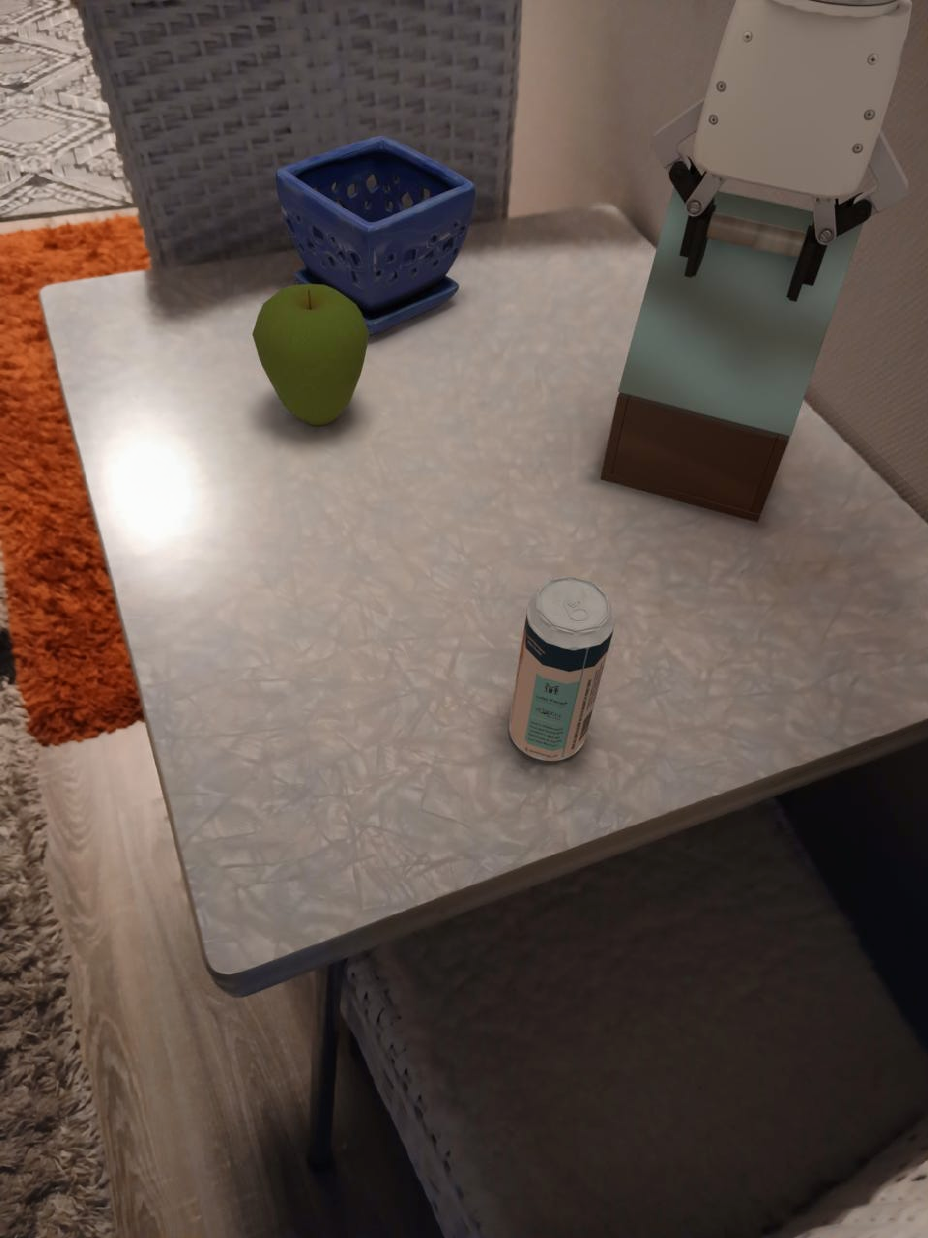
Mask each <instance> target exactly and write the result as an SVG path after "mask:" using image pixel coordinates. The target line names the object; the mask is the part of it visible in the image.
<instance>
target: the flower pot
mask: <svg viewBox="0 0 928 1238" xmlns="http://www.w3.org/2000/svg"><path fill="white" fill-rule="evenodd" d="M372 176H373V177H374V179H375V185H374V186H372V187H371V188H370V189H369V186H368V185H367V181H368V180H369V179H370V177H372ZM334 184H335V186H334V188H333V185H334ZM275 185H276V194H277V198H278V204H279V208H280V211H281V216H282V219H283V221H284V225H285V227H286V230H287V233H288V235H289V238H290V240H291V243H292V245H293V247H294V249H295V250H296V252H297V255H298V256H299V258H300V259H301V261H302V262H303V264H304V265H305V267H303V268H300V269H298V270H296V271H295V272H294V273H293V276H294V277H293V278H294V279H295V281H296V283H297V285H301V284H320V285H326V286H328V287H331V288H333V289H335V290H337V291H339V292H340V293H341V294H343V295H344V296H346V297H347V298H348V299H350V300H351V301H352V302H353V303H355V304H356V305H357V307H358V308H359V310H360V312H361V313H362V316H363V318H364V320H365V323H366V325H367V328H368V330H369V333H370V334H369V335H376V334H379V333H380V332H383V331H385V330H388V329H390V328H392V327H394V326H396V325H399V324H402V323H403V322H406V321H409V320H410V319H412V318H415V317H417V316H419V315H421V314H423V313H425V312H428V311H430V310H432V309H434V308H436V307H440V306H441V305H443V304H444V303H446V302H447V301H449V300H450V299H451V298H452V297H453V296H455V294H457V292H459V289H460V284H459V282H458V283H457V281H455V280H454V279H453V278H451V277H449V276H448V275H447V274H448V273H449V271H450V270H451V269H452V267H453V265H454V264H455V262H456V260H457V258H458V256H459V254H460V252H461V250H462V247H463V245H464V242H465V240H466V237H467V235H468V231H469V228H470V224H471V221H472V215H473V212H474V206H475V200H476V191H477V188H476V185H475V183H473V182H472V181H471V180H470V179H467V178H466V177H465V176H463V175H461V174H459V173H458V172H456V171H454V170H452V169H451V168H449V167H448V166H445V165H444V164H442V163H440V162H438V161H436V160H435V159H433V158H431V157H429V156H427V155H425V154H423V153H422V152H420V151H417V150H415V149H414V148H411V147H410V146H408V145H406V144H404V143H402V142H399V141H397V140H395V139H392V138H390V137H388V136H385V135H377V136H372V137H370V138H365V139H362V140H359V141H356V142H353V143H348V144H346V145H343V146H340V147H336V148H334V149H331V150H329V151H325V152H322V153H319V154H317V155H314V156H311V157H307V158H305V159H302V160H300V161H299V160H298V161H297V162H294V163H291V164H288V165H285V166H283V167H280V168H278V169H277V170H276V172H275ZM352 185H353V190H354V191H353V192H352V193H348V190H349V187H350V186H352ZM425 190H427V191H428V192H429V198H428V199H426V200H425ZM406 194H408V195H409V198H410V200H411V201H412V204H411V206H410V207H408V208H406V207H405V204H404V202H403V198H404V196H405V195H406ZM337 202H338V203H337ZM365 204H366V205H365ZM391 204H392V208H391V207H390V205H391Z"/></svg>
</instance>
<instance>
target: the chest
mask: <svg viewBox="0 0 928 1238" xmlns="http://www.w3.org/2000/svg"><path fill="white" fill-rule="evenodd" d="M613 411H614V412H613V415H612V421H611V426H610V430H609V436H608V439H607V443H606V450H605V454H604V460H603V464H602V469H601V470H602V471H601V474H600V479H601V480H604V481H607V482H611V483H615V484H619V485H621V486H626V487H629V488H632V489H636V490H640V491H642V492H643V491H644V492H648V493H650V494H655V495H658V496H662V497H665V498H669V499H672V500H676V501H680V502H683V503H687V504H690V505H694V506H697V507H701V508H705V509H708V510H711V511H715V512H720V513H723V514H726V515H730V516H734V517H737V518H741V519H744V520H749V521H751V522H754V523H755V522H756V523H758V522H759V520H760V518H761V515H762V513H763V510H764V508H765V504H766V502H767V499H768V497H769V494H770V491H771V489H772V486H773V485H774V482H775V479H776V476H777V474H778V471H779V468H780V466H781V463H782V460H783V458H784V454H785V452H786V450H787V447H788V444H789V441H790V437H791V436H790V437H789V436H785V435H782V434H778V433H774V432H770V431H766V430H762V429H758V428H755V427H751V426H747V425H743V424H739V423H735V422H731V421H727V420H724V419H720V418H716V417H712V416H708V415H704V414H700V413H697V412H693V411H689V410H685V409H681V408H677V407H673V406H670V405H666V404H662V403H658V402H654V401H650V400H646V399H643V398H639V397H635V396H631V395H627V394H623V393H619V392H618V395H617V397H616V402H615V405H614V410H613Z"/></svg>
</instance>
